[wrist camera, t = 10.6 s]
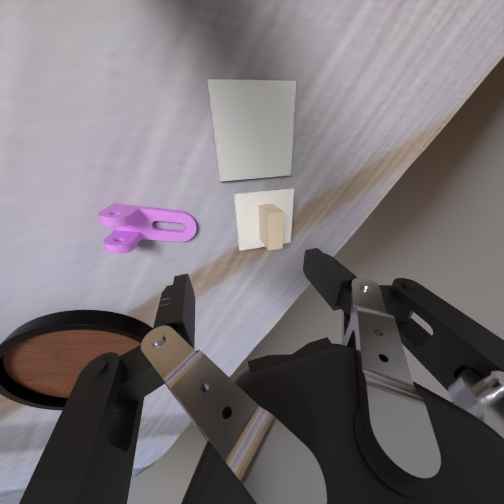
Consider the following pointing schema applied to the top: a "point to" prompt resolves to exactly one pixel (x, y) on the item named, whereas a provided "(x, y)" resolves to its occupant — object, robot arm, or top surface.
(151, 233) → the bracket
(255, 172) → the mat
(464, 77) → the top surface
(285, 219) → the cover
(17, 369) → the wall clock
